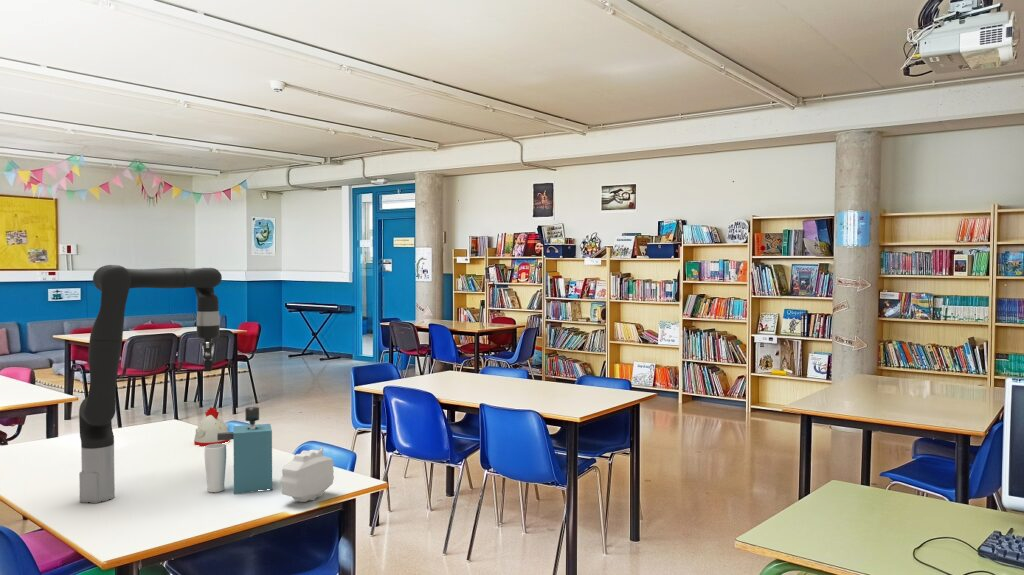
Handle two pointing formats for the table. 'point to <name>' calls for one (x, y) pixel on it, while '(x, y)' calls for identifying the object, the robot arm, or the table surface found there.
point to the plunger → (252, 415)
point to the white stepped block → (307, 475)
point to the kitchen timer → (210, 429)
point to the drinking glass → (215, 466)
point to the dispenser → (251, 457)
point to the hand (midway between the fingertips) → (208, 369)
